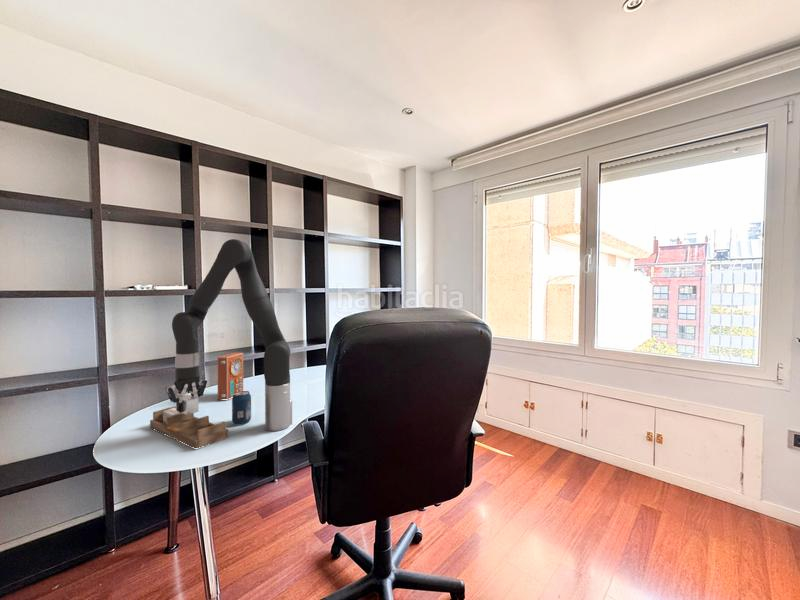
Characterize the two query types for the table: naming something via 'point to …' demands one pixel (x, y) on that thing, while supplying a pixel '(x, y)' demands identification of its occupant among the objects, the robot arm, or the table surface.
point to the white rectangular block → (190, 404)
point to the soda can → (241, 407)
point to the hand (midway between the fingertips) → (187, 410)
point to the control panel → (230, 375)
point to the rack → (188, 427)
